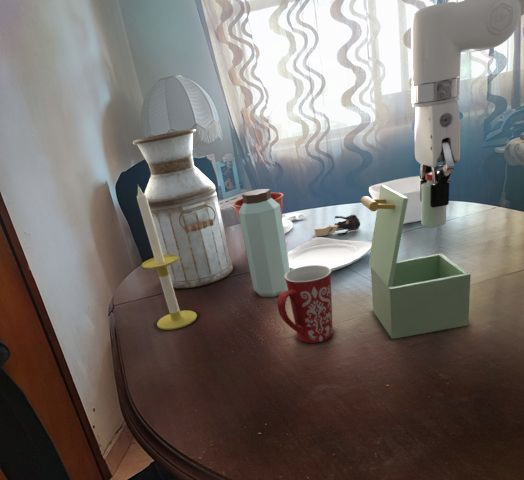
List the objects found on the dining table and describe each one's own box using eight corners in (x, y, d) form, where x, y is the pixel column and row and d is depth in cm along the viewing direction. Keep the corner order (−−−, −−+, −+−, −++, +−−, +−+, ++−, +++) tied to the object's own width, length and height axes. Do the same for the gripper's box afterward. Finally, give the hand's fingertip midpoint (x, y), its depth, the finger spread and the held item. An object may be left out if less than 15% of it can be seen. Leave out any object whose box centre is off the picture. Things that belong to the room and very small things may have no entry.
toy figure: (318, 241, 151) (363, 230, 151) (315, 222, 149) (360, 211, 149) (315, 238, 158) (358, 228, 158) (311, 220, 156) (355, 209, 155)
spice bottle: (443, 219, 90) (444, 169, 86) (448, 225, 87) (449, 173, 82) (419, 222, 91) (419, 172, 87) (423, 228, 87) (423, 177, 83)
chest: (440, 299, 99) (441, 253, 94) (468, 325, 88) (470, 274, 83) (373, 311, 100) (370, 266, 95) (392, 339, 88) (389, 289, 83)
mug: (315, 320, 100) (308, 261, 94) (346, 331, 94) (340, 268, 87) (271, 344, 94) (260, 283, 88) (301, 357, 88) (291, 292, 81)
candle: (188, 307, 120) (153, 177, 104) (203, 319, 111) (166, 180, 96) (152, 321, 116) (110, 188, 101) (164, 334, 108) (120, 191, 93)
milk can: (247, 272, 136) (218, 125, 117) (180, 296, 128) (138, 142, 109) (214, 257, 155) (184, 128, 136) (154, 276, 148) (114, 143, 129)
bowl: (363, 221, 163) (361, 187, 157) (422, 207, 164) (422, 173, 159) (389, 235, 143) (388, 197, 138) (456, 220, 145) (457, 182, 140)
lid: (384, 185, 87) (357, 184, 87) (408, 198, 76) (377, 197, 75) (372, 264, 94) (347, 263, 94) (392, 286, 83) (363, 286, 83)
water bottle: (293, 294, 115) (278, 192, 103) (254, 301, 116) (234, 200, 104) (291, 280, 124) (276, 184, 112) (254, 286, 125) (236, 191, 113)
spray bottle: (255, 238, 167) (282, 219, 186) (283, 237, 162) (308, 218, 181) (254, 230, 166) (281, 212, 184) (282, 228, 161) (307, 210, 179)
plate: (264, 270, 135) (262, 261, 134) (316, 243, 149) (315, 235, 148) (331, 281, 119) (330, 271, 118) (383, 250, 133) (382, 241, 131)
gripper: (480, 88, 71) (474, 209, 79) (438, 90, 86) (436, 191, 94) (432, 97, 71) (430, 216, 80) (397, 98, 86) (400, 198, 95)
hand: (434, 202), depth 87 cm, fingers closed on spice bottle, 4 cm apart
